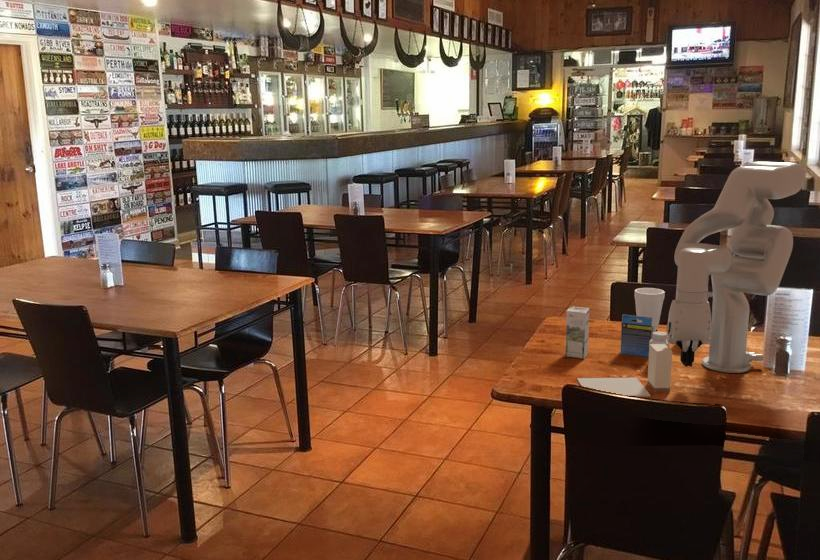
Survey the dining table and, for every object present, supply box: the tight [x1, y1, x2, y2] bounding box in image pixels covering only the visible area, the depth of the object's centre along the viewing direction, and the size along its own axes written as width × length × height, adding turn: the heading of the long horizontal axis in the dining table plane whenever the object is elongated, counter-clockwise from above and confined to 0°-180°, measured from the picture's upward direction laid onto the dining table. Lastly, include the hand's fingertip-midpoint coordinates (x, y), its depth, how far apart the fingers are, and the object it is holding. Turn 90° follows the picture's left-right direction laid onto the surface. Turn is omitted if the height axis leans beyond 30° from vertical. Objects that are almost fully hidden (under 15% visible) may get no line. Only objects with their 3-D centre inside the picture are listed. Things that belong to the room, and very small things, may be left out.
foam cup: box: [633, 287, 666, 332], centre depth 247 cm, size 10×9×13 cm
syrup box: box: [565, 306, 590, 360], centre depth 221 cm, size 6×6×14 cm
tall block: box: [646, 344, 673, 393], centre depth 194 cm, size 4×6×11 cm, turn 179°
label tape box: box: [620, 314, 654, 358], centre depth 222 cm, size 9×4×12 cm, turn 63°
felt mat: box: [576, 377, 652, 398], centre depth 196 cm, size 16×13×1 cm
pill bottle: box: [647, 330, 670, 365], centre depth 211 cm, size 5×5×10 cm
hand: (686, 364), depth 194 cm, fingers closed
